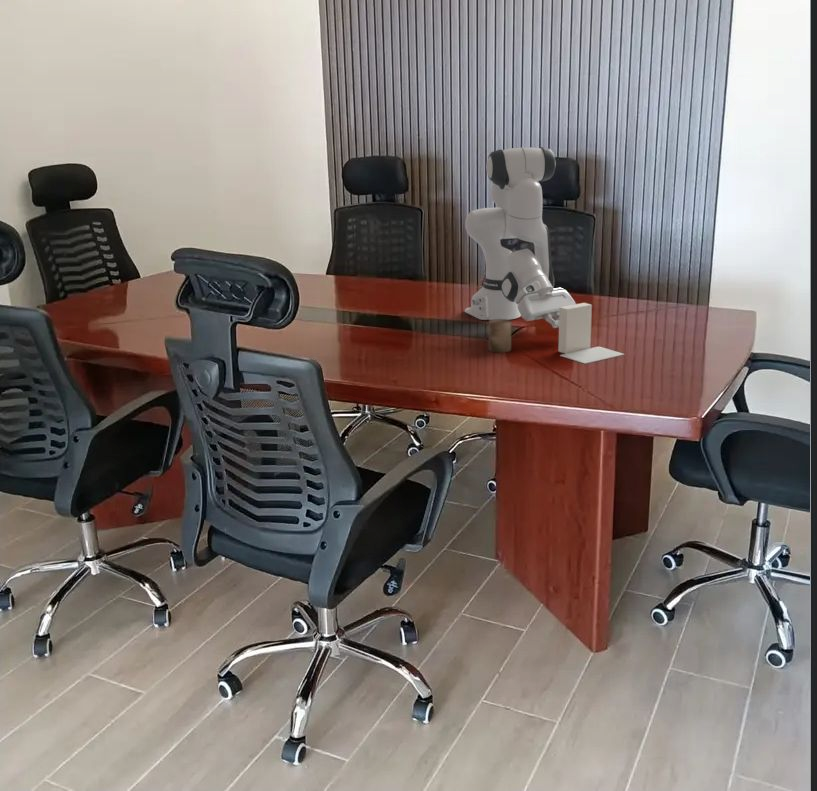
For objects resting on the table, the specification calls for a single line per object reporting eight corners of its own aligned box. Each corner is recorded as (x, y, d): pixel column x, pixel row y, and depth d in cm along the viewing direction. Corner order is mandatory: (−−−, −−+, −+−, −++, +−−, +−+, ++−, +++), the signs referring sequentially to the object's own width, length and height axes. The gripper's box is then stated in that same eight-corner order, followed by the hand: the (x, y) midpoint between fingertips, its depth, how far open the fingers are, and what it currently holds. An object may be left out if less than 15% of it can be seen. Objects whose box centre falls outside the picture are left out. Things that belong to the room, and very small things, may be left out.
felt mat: (560, 355, 268) (560, 354, 268) (599, 347, 276) (599, 346, 276) (584, 364, 260) (584, 363, 259) (624, 354, 267) (624, 354, 267)
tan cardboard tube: (484, 349, 278) (484, 321, 276) (501, 345, 282) (502, 318, 279) (497, 353, 273) (497, 325, 270) (515, 350, 276) (515, 322, 273)
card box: (558, 351, 273) (559, 307, 269) (582, 346, 278) (584, 302, 274) (565, 353, 271) (567, 309, 266) (590, 348, 275) (591, 304, 271)
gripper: (558, 292, 291) (578, 326, 286) (509, 301, 281) (529, 336, 276) (568, 281, 286) (588, 316, 281) (518, 289, 276) (538, 325, 271)
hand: (558, 326), depth 279 cm, fingers closed
